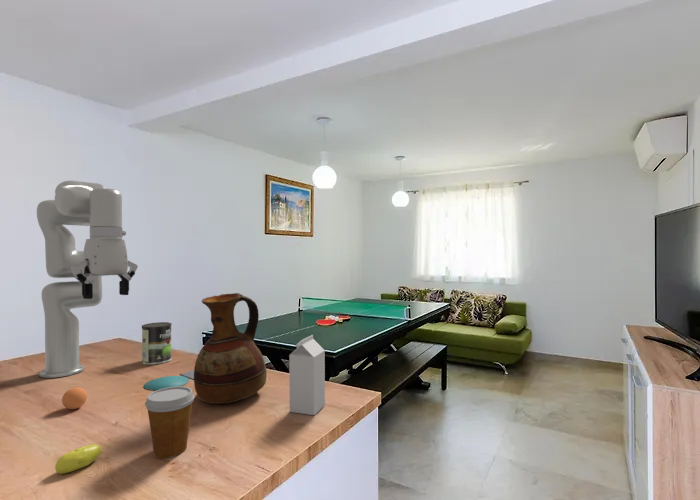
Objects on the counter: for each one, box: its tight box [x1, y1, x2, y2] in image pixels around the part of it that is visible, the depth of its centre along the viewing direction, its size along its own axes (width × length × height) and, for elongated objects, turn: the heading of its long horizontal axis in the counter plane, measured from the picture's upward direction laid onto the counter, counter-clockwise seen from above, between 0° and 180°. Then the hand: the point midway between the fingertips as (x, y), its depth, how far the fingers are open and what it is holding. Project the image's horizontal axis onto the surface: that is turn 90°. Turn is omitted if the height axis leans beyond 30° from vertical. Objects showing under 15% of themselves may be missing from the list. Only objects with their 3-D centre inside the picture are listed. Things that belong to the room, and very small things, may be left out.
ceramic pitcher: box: [193, 292, 267, 404], centre depth 112 cm, size 20×20×30 cm
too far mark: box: [179, 369, 194, 381], centre depth 132 cm, size 10×10×1 cm
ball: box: [61, 386, 88, 410], centre depth 103 cm, size 6×6×6 cm
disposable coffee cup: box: [144, 386, 195, 459], centre depth 81 cm, size 10×10×12 cm
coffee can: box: [141, 321, 172, 366], centre depth 148 cm, size 10×10×14 cm
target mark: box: [143, 375, 190, 391], centre depth 123 cm, size 13×13×1 cm
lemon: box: [54, 443, 103, 475], centre depth 75 cm, size 4×8×4 cm, turn 145°
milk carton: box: [288, 334, 326, 416], centre depth 102 cm, size 7×7×19 cm
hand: (106, 296), depth 105 cm, fingers open, 9 cm apart
